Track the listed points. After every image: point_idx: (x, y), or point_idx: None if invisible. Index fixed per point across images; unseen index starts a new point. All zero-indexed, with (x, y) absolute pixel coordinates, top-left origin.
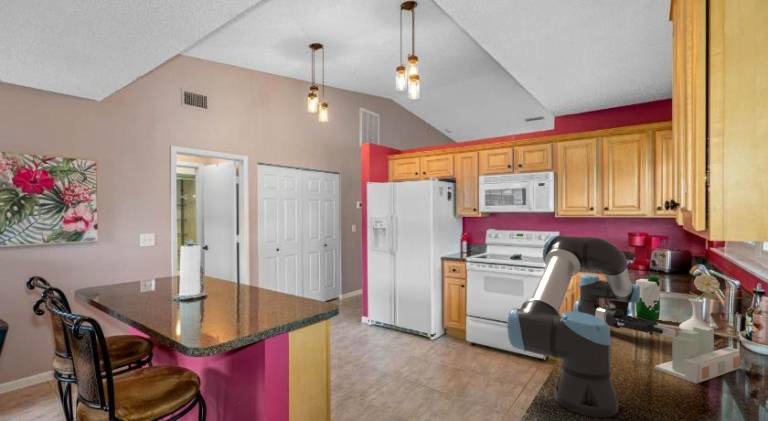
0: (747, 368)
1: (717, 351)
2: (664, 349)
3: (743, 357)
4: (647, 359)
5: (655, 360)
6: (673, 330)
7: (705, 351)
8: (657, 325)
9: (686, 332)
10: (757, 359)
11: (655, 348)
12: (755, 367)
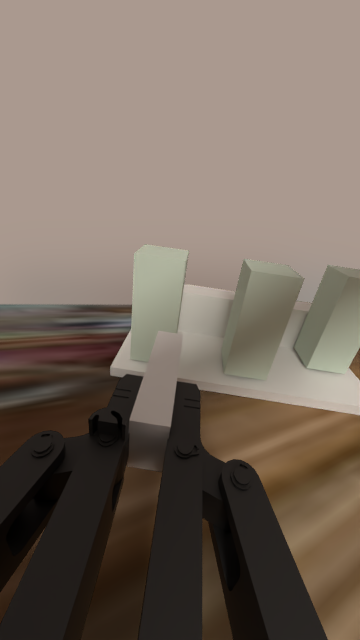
0: (124, 314)
1: (204, 294)
2: (126, 480)
3: (29, 319)
4: (349, 471)
5: (317, 446)
6: (177, 334)
7: (178, 323)
8: (142, 406)
9: (288, 269)
10: (28, 307)
11: (151, 525)
12: (103, 308)
